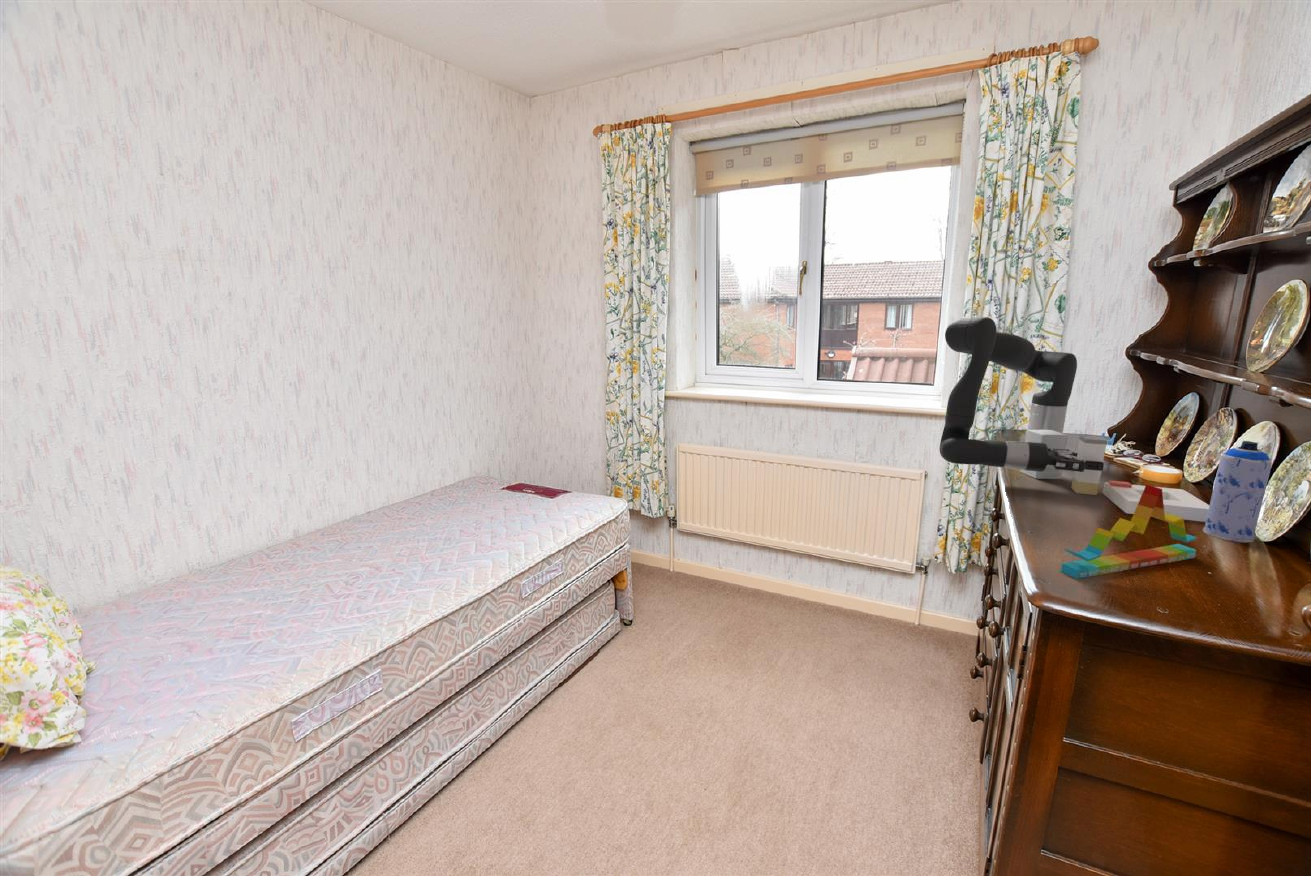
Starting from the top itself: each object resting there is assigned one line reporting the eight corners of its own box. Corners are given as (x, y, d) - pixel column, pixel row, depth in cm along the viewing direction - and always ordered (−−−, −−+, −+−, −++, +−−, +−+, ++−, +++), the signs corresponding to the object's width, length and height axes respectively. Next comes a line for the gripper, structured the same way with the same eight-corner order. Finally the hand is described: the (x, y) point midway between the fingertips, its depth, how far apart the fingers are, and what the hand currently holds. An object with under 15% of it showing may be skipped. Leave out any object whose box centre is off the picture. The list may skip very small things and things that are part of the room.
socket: (1102, 493, 149) (1105, 479, 148) (1180, 501, 143) (1183, 486, 142) (1126, 513, 134) (1129, 497, 133) (1214, 522, 129) (1217, 506, 128)
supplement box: (1061, 479, 161) (1069, 434, 158) (1034, 479, 161) (1041, 434, 158) (1045, 472, 168) (1051, 429, 165) (1019, 471, 168) (1025, 429, 165)
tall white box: (1070, 487, 153) (1079, 435, 150) (1091, 490, 152) (1101, 436, 148) (1076, 493, 149) (1085, 438, 146) (1097, 495, 147) (1107, 440, 144)
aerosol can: (1264, 540, 119) (1288, 445, 115) (1237, 544, 117) (1261, 447, 113) (1218, 526, 127) (1239, 436, 122) (1193, 530, 124) (1213, 438, 120)
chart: (1078, 581, 101) (1093, 498, 98) (1060, 573, 104) (1074, 493, 101) (1195, 559, 110) (1212, 484, 107) (1176, 553, 113) (1192, 479, 110)
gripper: (1032, 448, 146) (1109, 454, 141) (1020, 436, 159) (1090, 442, 154) (1027, 476, 148) (1104, 483, 142) (1016, 463, 161) (1086, 469, 155)
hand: (1097, 462), depth 148 cm, fingers open, 8 cm apart
